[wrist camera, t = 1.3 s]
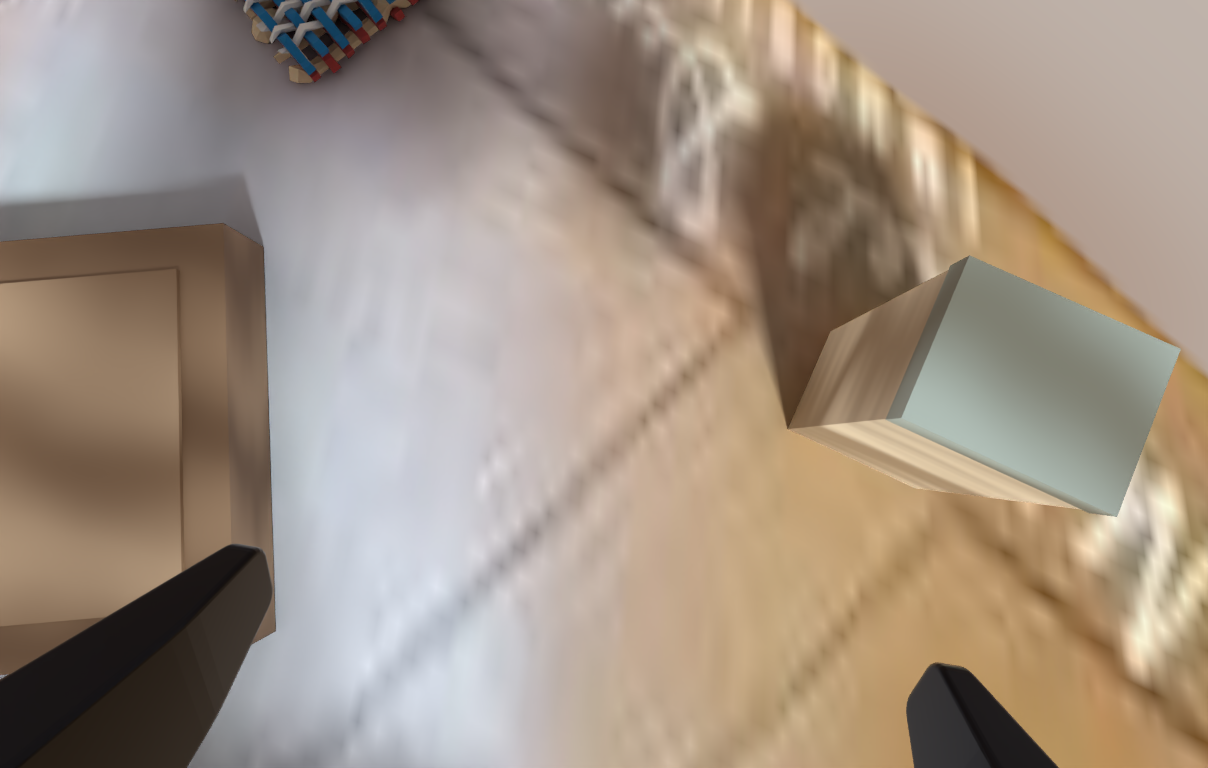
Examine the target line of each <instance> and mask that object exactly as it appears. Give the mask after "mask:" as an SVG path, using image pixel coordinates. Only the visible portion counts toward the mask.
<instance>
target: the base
mask: <svg viewBox="0 0 1208 768" xmlns="http://www.w3.org/2000/svg"><path fill="white" fill-rule="evenodd" d="M230 544H243V545H249V546H254V547H259V548H261V549H262V550H263V551H264V552H265V554H266V558H267V562H268V567H269V572H270V576H271V581H272V585H273V595H272V600H271V603H270V606H269V608H268V610H267V612H266V614H265V617H264V619H263V621H262V623H261V625H260V627H259V629H258V631H257V634H256V636H255V638H254V640H253V642H252V644H253V643H255V642H257V641H259V640H261V639H262V638H264V637H266V636H268V635H270V634H271V633H273V632H275V631H276V630H275V599H274V567H273V535H272V504H271V472H270V440H269V409H268V377H267V345H266V314H265V282H264V251H263V246H261V245H259V244H258V243H256V242H254V241H253V240H251V239H249V238H248V237H246V236H244V235H243V234H241V233H239V232H237V231H236V230H234V229H232V228H231V227H229V226H227V225H226V224H224V223H219V224H207V225H195V226H183V227H171V228H159V229H147V230H135V231H123V232H111V233H99V234H87V235H75V236H63V237H51V238H39V239H27V240H15V241H3V242H0V675H4V674H11V673H12V672H14V671H16V670H17V669H19V668H21V667H22V666H24V665H26V664H27V663H29V662H31V661H32V660H34V659H36V658H38V657H39V656H41V655H43V654H44V653H46V652H48V651H49V650H51V649H53V648H54V647H56V646H58V645H59V644H61V643H63V642H65V641H66V640H68V639H70V638H71V637H73V636H75V635H76V634H78V633H80V632H81V631H83V630H85V629H86V628H88V627H90V626H91V625H93V624H95V623H97V622H98V621H100V620H102V619H103V618H105V617H107V616H108V615H110V614H112V613H113V612H115V611H117V610H118V609H120V608H122V607H124V606H125V605H127V604H129V603H130V602H132V601H134V600H135V599H137V598H139V597H140V596H142V595H144V594H145V593H147V592H149V591H151V590H152V589H154V588H156V587H157V586H159V585H161V584H162V583H164V582H166V581H167V580H169V579H171V578H172V577H174V576H176V575H178V574H179V573H181V572H183V571H184V570H186V569H188V568H189V567H191V566H193V565H194V564H196V563H198V562H199V561H201V560H203V559H204V558H206V557H208V556H210V555H211V554H213V553H215V552H216V551H218V550H220V549H221V548H223V547H225V546H227V545H230Z"/></svg>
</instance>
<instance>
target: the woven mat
mask: <svg viewBox="0 0 1208 768" xmlns="http://www.w3.org/2000/svg"><path fill="white" fill-rule="evenodd" d="M234 1H238V0H234ZM244 1H245V5H244V8H243V10H244V12H245V13H246V14H247V15H248V16H249V17H250V18H251V20H252V21H253V24H252V31H251V32H252V34H253V36H254V38H255V40H257V41H260V42H264V43H267V44H269V41H270V42H271V44H272V43H273V42H274V40H275V39H277V40H278V41H279V42H280V43H281V44H282V46H283V47H284V48H281V49H279V50H277V51H279V52H278V53H277V54H276V55H275V56H274V58H275V59H276V60H277V62H278V63H279V64H280V63H282V62H283V61H285V60H286V59H288V58H289V57H291V56H292V57H293V58H294V59H295V60H296V61H297V63H298V64H299V65H292V66H289V77H290V81H293V82H296V83H311V82H312V81H314V82H316V81H317V80H318V79H320V78H321V74H322V73H324V72H325V71H326V70H328V69H329V68H330V69H331V71H332V72H333V73H335V72H336V71H338V70H339V69H340V68H341V66H340V65H339V64H338V63H337V62H338V61H339V60H340V59H342V58H343V57H344V56H347V57H348V58H350V57H351V56H352V55H353V54H354V53H355V51H354V49H355V48H356V47H357V46H359V45H360V44H361V43H363V44H364V43H366V42H367V41H369V40H370V36H372V35H373V34H374V33H375V32H377V31H378V30H380V31H381V30H382V29H384V28H385V27H386V26H387V25H386V23H387V21H388V18H389V16H390V15H391V16H392V17H393V18H394V19H395V20H397V21H401V20H402V19H403V18H404V17H405V16H404V14H403V12H402V10H401V9H400V8H405V7H408V6H410V5H412V6H413V5H414V4H415V3H417V2H418V1H419V0H373V2H372V1H371V0H289V1H285V0H244ZM275 5H276V7H277V8H272V7H274V6H275ZM359 7H360V9H361V10H362V11H363V12H364V13H365V14H366V15H367V18H365V19H364V20H363V21H361V20H360V19H359V18H358V17H357V16H356V15H355V14H354V13H353V12H352V11H351V10H357V9H358V8H359ZM310 14H311V15H312V16H313V18H314V19H315V20H314V21H312V22H307V20H308V18H309V16H310ZM337 17H338V18H339V19H340V20H341V21H342V22H343V23H344V24H346V25H347V26H348V27H349V28H350V31H349V32H347V33H346V34H345V35H343V34H342V33H341V31H340V30H339V29H338V28H337V26H336V25H335V22H336V20H337ZM306 22H307V23H306ZM296 30H297V31H296ZM291 31H296V33H295V35H294V37H293V39H291V38H290V37H289V36H288V35H287V34H286V33H285V32H291ZM325 33H327V34H328V35H329V36H330V37H331V39H332V40H333V41H334V43H333V44H332V45H331V46H329V47H328V48H327V47H326V46H325V44H324V43H323V42H322V41H321V40H320V39H319V37H321V36H322V35H323V34H325ZM308 45H310V46H311V47H312V48H313V49H314V50H315V52H316V53H317V54H318V56H316V57H315V58H314V59H313V60H311V61H309V60H308V58H307V57H306V56H305V55H304V54H303V52H302V51H301V50H302V49H304V48H305V47H307V46H308Z"/></svg>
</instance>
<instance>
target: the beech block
mask: <svg viewBox="0 0 1208 768" xmlns="http://www.w3.org/2000/svg"><path fill="white" fill-rule="evenodd" d="M1179 352H1180V349H1179V348H1177V347H1175V346H1173V345H1170V344H1168V343H1166V342H1164V341H1161V340H1159V339H1157V338H1155V337H1152V336H1150V335H1148V334H1145V333H1143V332H1141V331H1139V330H1136V329H1134V328H1132V327H1130V326H1127V325H1125V324H1123V323H1121V322H1118V321H1116V320H1114V319H1112V318H1109V317H1107V316H1105V315H1103V314H1100V313H1098V312H1096V311H1094V310H1091V309H1089V308H1087V307H1085V306H1082V305H1080V304H1078V303H1075V302H1073V301H1071V300H1069V299H1066V298H1064V297H1062V296H1060V295H1057V294H1055V293H1053V292H1051V291H1048V290H1046V289H1044V288H1042V287H1039V286H1037V285H1035V284H1033V283H1030V282H1028V281H1026V280H1024V279H1021V278H1019V277H1017V276H1014V275H1012V274H1010V273H1008V272H1005V271H1003V270H1001V269H999V268H996V267H994V266H992V265H990V264H987V263H985V262H983V261H981V260H978V259H976V258H974V257H972V256H968V257H966V258H964V259H962V260H960V261H958V262H956V263H955V264H953V265H951V266H950V268H949V270H947V271H946V272H944V273H942V274H940V275H938V276H936V277H934V278H932V279H930V280H928V281H926V282H924V283H922V284H921V285H919V286H917V287H915V288H913V289H911V290H909V291H907V292H905V293H903V294H901V295H899V296H897V297H896V298H894V299H892V300H890V301H888V302H886V303H884V304H882V305H880V306H878V307H876V308H874V309H872V310H871V311H869V312H867V313H865V314H863V315H861V316H859V317H857V318H855V319H853V320H851V321H849V322H847V323H846V324H844V325H842V326H840V327H838V328H836V329H834V330H832V331H830V334H829V336H828V338H827V340H826V343H825V345H824V347H823V350H822V352H821V354H820V356H819V359H818V361H817V363H816V366H815V368H814V370H813V372H812V375H811V377H810V379H809V382H808V384H807V386H806V388H805V391H804V393H803V395H802V398H801V400H800V402H799V404H798V407H797V409H796V411H795V414H794V416H793V418H792V420H791V423H790V425H789V427H788V430H790V431H792V432H795V433H797V434H799V435H801V436H803V437H805V438H808V439H810V440H812V441H814V442H816V443H818V444H821V445H823V446H825V447H827V448H829V449H831V450H834V451H836V452H838V453H840V454H842V455H844V456H847V457H849V458H851V459H853V460H855V461H857V462H859V463H862V464H864V465H866V466H868V467H870V468H872V469H875V470H877V471H879V472H881V473H883V474H885V475H888V476H890V477H892V478H894V479H896V480H898V481H901V482H903V483H905V484H907V485H909V486H911V487H914V488H918V489H926V490H934V491H942V492H950V493H957V494H965V495H973V496H981V497H989V498H997V499H1004V500H1012V501H1020V502H1028V503H1036V504H1044V505H1051V506H1059V507H1067V508H1075V509H1081V510H1084V511H1086V512H1088V513H1092V514H1100V515H1107V516H1115V517H1117V515H1118V513H1119V510H1120V507H1121V505H1122V502H1123V500H1124V497H1125V494H1126V492H1127V489H1128V486H1129V484H1130V481H1131V479H1132V476H1133V473H1134V471H1135V468H1136V465H1137V463H1138V460H1139V457H1140V455H1141V452H1142V450H1143V447H1144V444H1145V442H1146V439H1147V436H1148V434H1149V431H1150V428H1151V426H1152V423H1153V421H1154V418H1155V415H1156V413H1157V410H1158V407H1159V405H1160V402H1161V399H1162V397H1163V394H1164V392H1165V389H1166V386H1167V384H1168V381H1169V378H1170V376H1171V373H1172V371H1173V368H1174V365H1175V363H1176V360H1177V357H1178V355H1179Z"/></svg>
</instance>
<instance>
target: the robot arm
mask: <svg viewBox="0 0 1208 768" xmlns="http://www.w3.org/2000/svg"><path fill="white" fill-rule="evenodd" d="M272 595H273V585H272V581H271V576H270V572H269V567H268V562H267V558H266V554H265V552H264V551H263V550H262V549H261V548H259V547H254V546H249V545H243V544H230V545H227V546H225V547H223V548H221V549H220V550H218V551H216V552H215V553H213V554H211V555H210V556H208V557H206V558H204V559H203V560H201V561H199V562H198V563H196V564H194V565H193V566H191V567H189V568H188V569H186V570H184V571H183V572H181V573H179V574H178V575H176V576H174V577H172V578H171V579H169V580H167V581H166V582H164V583H162V584H161V585H159V586H157V587H156V588H154V589H152V590H151V591H149V592H147V593H145V594H144V595H142V596H140V597H139V598H137V599H135V600H134V601H132V602H130V603H129V604H127V605H125V606H124V607H122V608H120V609H118V610H117V611H115V612H113V613H112V614H110V615H108V616H107V617H105V618H103V619H102V620H100V621H98V622H97V623H95V624H93V625H91V626H90V627H88V628H86V629H85V630H83V631H81V632H80V633H78V634H76V635H75V636H73V637H71V638H70V639H68V640H66V641H65V642H63V643H61V644H59V645H58V646H56V647H54V648H53V649H51V650H49V651H48V652H46V653H44V654H43V655H41V656H39V657H38V658H36V659H34V660H32V661H31V662H29V663H27V664H26V665H24V666H22V667H21V668H19V669H17V670H16V671H14V672H12V673H11V674H9V675H7V676H5V677H4V678H2V679H0V768H187V766H188V765H189V763H190V761H191V760H192V758H193V756H194V755H195V753H196V751H197V750H198V748H199V746H200V745H201V743H202V741H203V740H204V738H205V736H206V735H207V733H208V731H209V729H210V728H211V726H212V724H213V722H214V721H215V719H216V717H217V715H218V713H219V711H220V709H221V707H222V705H223V703H224V701H225V699H226V697H227V695H228V693H229V691H230V689H231V687H232V684H233V682H234V680H235V678H236V676H237V674H238V672H239V670H240V667H241V665H242V663H243V661H244V659H245V657H246V655H247V653H248V650H249V648H250V646H251V644H252V642H253V640H254V638H255V636H256V634H257V631H258V629H259V627H260V625H261V623H262V621H263V619H264V617H265V614H266V612H267V610H268V608H269V606H270V603H271V600H272ZM906 714H907V722H908V729H909V735H910V742H911V749H912V756H913V762H914V768H1059V767H1058V766H1057V765H1056V764H1055V763H1054V762H1053V761H1052V760H1051V759H1050V758H1049V756H1048V755H1047V754H1046V753H1045V752H1044V751H1043V750H1042V749H1041V748H1040V747H1039V746H1038V744H1037V743H1036V742H1035V741H1034V740H1033V739H1032V738H1031V737H1030V736H1029V735H1028V734H1027V732H1026V731H1025V730H1024V729H1023V728H1022V727H1021V726H1020V725H1019V724H1018V723H1017V722H1016V720H1015V719H1014V718H1013V717H1012V716H1011V715H1010V714H1009V713H1008V712H1007V711H1006V710H1005V708H1004V707H1003V706H1002V705H1001V704H1000V703H999V702H998V701H997V700H996V699H995V698H994V697H993V695H992V694H991V693H990V692H989V691H988V690H987V689H986V688H985V687H984V686H983V685H982V683H981V682H980V681H979V680H978V679H977V678H976V677H975V676H974V675H973V674H972V673H971V672H970V671H969V670H967V669H966V668H964V667H961V666H956V665H950V664H944V663H933V664H931V665H930V666H929V667H928V668H927V669H926V671H925V672H924V674H923V676H922V677H921V679H920V680H919V682H918V683H917V685H916V686H915V688H914V689H913V691H912V692H911V694H910V696H909V698H908V701H907V707H906Z"/></svg>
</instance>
